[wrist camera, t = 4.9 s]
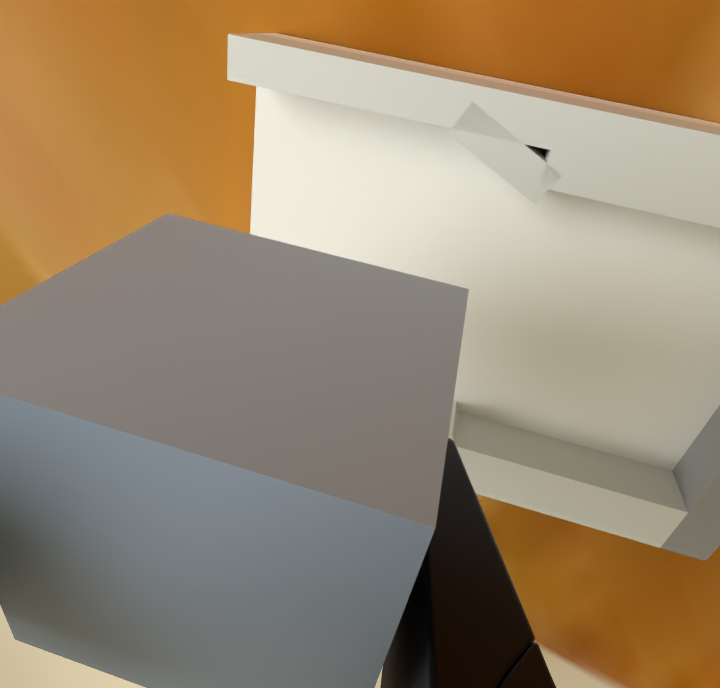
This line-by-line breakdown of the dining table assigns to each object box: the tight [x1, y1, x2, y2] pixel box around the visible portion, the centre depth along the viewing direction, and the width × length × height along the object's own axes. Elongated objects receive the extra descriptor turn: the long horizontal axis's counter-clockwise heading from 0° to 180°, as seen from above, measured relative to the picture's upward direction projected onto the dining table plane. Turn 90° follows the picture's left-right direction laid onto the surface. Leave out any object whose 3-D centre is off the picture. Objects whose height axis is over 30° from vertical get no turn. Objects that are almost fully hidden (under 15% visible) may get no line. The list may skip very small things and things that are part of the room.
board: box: [227, 33, 720, 561], centre depth 13 cm, size 14×10×2 cm
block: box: [0, 214, 469, 688], centre depth 8 cm, size 5×5×4 cm
